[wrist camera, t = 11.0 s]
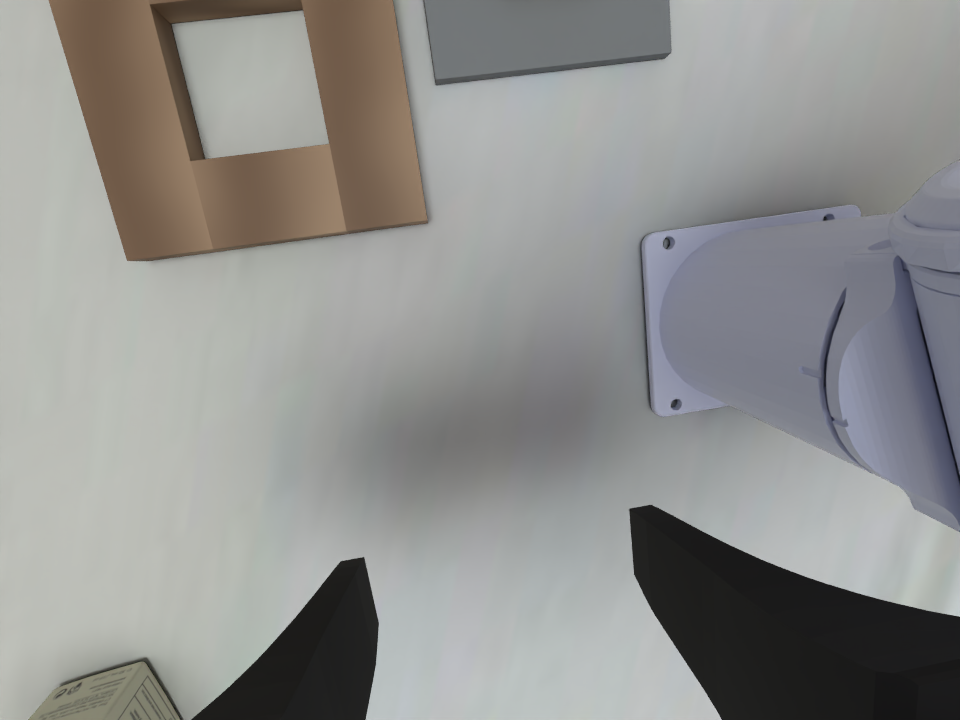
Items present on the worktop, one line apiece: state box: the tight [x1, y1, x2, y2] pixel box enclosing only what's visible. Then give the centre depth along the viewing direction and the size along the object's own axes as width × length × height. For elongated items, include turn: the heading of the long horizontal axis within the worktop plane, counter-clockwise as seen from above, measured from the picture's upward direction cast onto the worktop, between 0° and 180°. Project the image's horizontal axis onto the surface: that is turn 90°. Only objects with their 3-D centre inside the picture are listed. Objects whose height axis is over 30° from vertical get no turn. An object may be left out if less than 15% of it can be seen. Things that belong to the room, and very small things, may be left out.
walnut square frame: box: [49, 0, 428, 261], centre depth 16 cm, size 11×11×1 cm
